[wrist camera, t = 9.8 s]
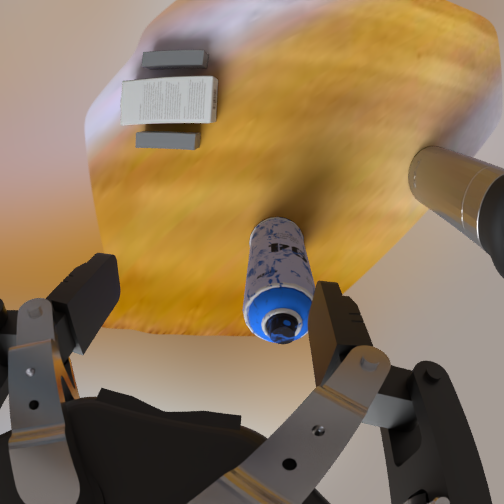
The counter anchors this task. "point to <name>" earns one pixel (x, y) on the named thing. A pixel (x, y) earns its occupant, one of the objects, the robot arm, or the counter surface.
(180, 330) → the counter surface
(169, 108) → the skincare box
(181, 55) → the charcoal cradle
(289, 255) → the aerosol can
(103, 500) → the robot arm
